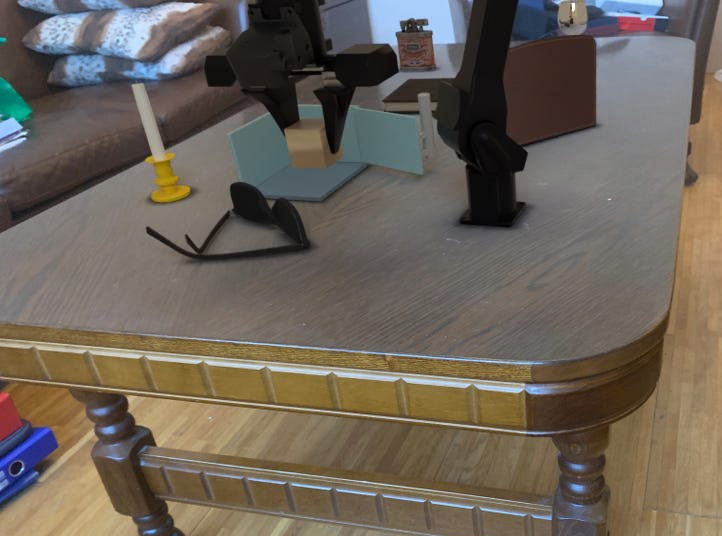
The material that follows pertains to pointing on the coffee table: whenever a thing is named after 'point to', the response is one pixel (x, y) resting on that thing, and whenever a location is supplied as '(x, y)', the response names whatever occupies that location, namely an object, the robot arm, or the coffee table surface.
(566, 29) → the wineglass
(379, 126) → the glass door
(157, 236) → the sunglasses
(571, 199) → the coffee table surface
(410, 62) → the lighter
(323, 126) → the block
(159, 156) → the candle
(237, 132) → the enclosure
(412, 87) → the hardcover book
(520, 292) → the coffee table surface
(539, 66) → the letter holder
